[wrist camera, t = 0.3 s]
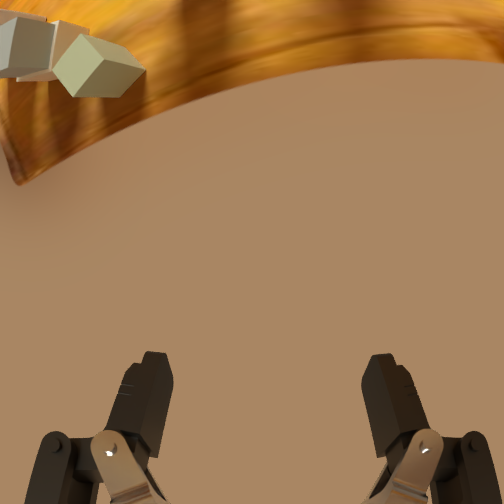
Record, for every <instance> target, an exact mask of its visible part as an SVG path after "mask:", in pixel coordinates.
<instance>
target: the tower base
mask: <svg viewBox="0 0 504 504" xmlns="http://www.w3.org/2000/svg"><path fill="white" fill-rule="evenodd" d="M51 24H55V25H56V26H55V30H54V36H53V41H52V47H51V54H50V61H49V69H45V70H42V71H38V72H35V73H31V74H28V75H25V76H22V77H17V80H16V82H23V81H52V80H56V79H58V78H57V76H56V75H55V74H54V72H53V71H52V69H53V68H54V66H55V65H56V64H57V62H58V61H59V60H60V58H61V57H62V56H63V54H64V53H65V52H66V50H67V49H68V48H69V47H70V45H71V44H72V43H73V42H74V41H75V39H76V38H77V37H78V36H79V35H80V33H82V34H85V35H88V34H89V29H88V28H85V27H81V26H78V25H75V24H71V23H68V22H64V21H61V20H58V21H55V22H52V23H51Z"/></svg>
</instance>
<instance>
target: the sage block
mask: <svg viewBox="0 0 504 504" xmlns="http://www.w3.org/2000/svg"><path fill="white" fill-rule="evenodd" d="M52 71H53V72H54V74H55V75H56V76H57V78H58V79H59V80H60V82H61V83H62V84H63V85H64V87H65V88H66V89H67V90H68V92H69V93H70V94H71V96H72V97H109V98H120V97H121V96H122V95H123V93H124V92H125V91H126V90H127V89H128V88H129V87H130V86H131V85H132V84H133V83H134V82H135V81H136V80H137V79H138V78H139V77H140V76H141V75H142V74H143V73H144V72H145V71H146V69H145V68H144V67H143V66H142V65H141V64H140V63H139V62H138V61H137V59H136V58H135V57H134V56H133V55H132V54H131V53H130V52H129V51H128V50H127V49H126V48H125V47H123V46H120V45H117V44H114V43H111V42H108V41H105V40H102V39H99V38H95V37H92V36H89V35H85V34H82V33H80V35H79V36H78V37H77V38H76V39H75V41H74V42H73V43H72V44H71V45H70V47H69V48H68V49H67V50H66V52H65V53H64V54H63V56H62V57H61V58H60V60H59V61H58V62H57V64H56V65H55V66H54V68H53V69H52Z"/></svg>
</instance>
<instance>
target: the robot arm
mask: <svg viewBox="0 0 504 504" xmlns="http://www.w3.org/2000/svg"><path fill="white" fill-rule="evenodd" d="M121 384H122V385H120V388H119V391H118V394H117V396H116V399H115V402H114V405H113V407H112V410H111V413H110V416H109V419H108V422H107V425H106V427H105V428H104V430H103V431H101V432H99V433H98V434H96V435H95V436H94V437H91V438H68V437H67V436H66V435H65V434H64V433H61V432H58V431H54V432H50V433H48V434H47V435H45V437H44V438H43V439H42V442H41V445H40V448H39V451H38V454H37V457H36V461H35V464H34V468H33V471H32V475H31V479H30V482H29V487H28V490H27V494H26V499H25V503H24V504H96V500H97V494H98V488H99V483H105V485H106V487H107V490H108V492H109V494H110V496H111V501H110V504H170V502H169V501H168V499H167V498H166V496H165V495H164V493H163V492H162V490H161V488H160V487H159V485H158V483H157V482H156V480H155V478H154V477H153V475H152V473H151V471H150V470H149V468H148V466H147V464H148V460H149V457H154V458H158V454H159V449H160V444H161V439H162V435H163V430H164V426H165V421H166V417H167V412H168V408H169V403H170V398H171V394H172V390H173V375H172V371H171V368H170V365H169V362H168V358H167V355H166V353H160V352H151V351H147V352H146V353H145V354H144V357H143V360H142V363H141V364H139V363H133V364H132V365H131V367H130V368H129V369H128V370H127V371H126V372H125V374H124V377H123V380H122V383H121ZM361 387H362V393H363V397H364V401H365V405H366V409H367V414H368V417H369V422H370V427H371V431H372V436H373V440H374V445H375V450H376V454H377V458H379V457H384V456H386V458H387V463H386V464H385V466H384V468H383V470H382V471H381V473H380V475H379V477H378V479H377V480H376V482H375V484H374V486H373V487H372V489H371V491H370V492H369V494H368V496H367V497H366V499H365V500H364V501H363V503H362V504H427V502H428V497H427V496H426V491H427V489H428V486H429V484H430V490H431V497H432V503H433V504H502V499H501V494H500V490H499V485H498V481H497V476H496V473H495V468H494V464H493V461H492V457H491V454H490V450H489V447H488V443H487V440H486V438H485V437H484V435H482V434H481V433H480V432H477V431H471V432H468V433H467V434H466V435H465V436H464V437H462V438H451V437H442V436H440V434H439V433H438V432H436V431H434V430H432V429H431V428H430V426H429V424H428V422H427V418H426V415H425V413H424V410H423V407H422V404H421V401H420V398H419V396H418V395H417V390H416V388H415V387H414V382H413V380H412V377H411V375H410V373H409V372H408V371H407V370H406V369H405V367H403V365H396V362H395V360H394V357H393V355H392V354H390V353H388V354H378V355H373V356H372V357H371V359H370V361H369V364H368V366H367V368H366V370H365V373H364V375H363V377H362V383H361Z"/></svg>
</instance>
